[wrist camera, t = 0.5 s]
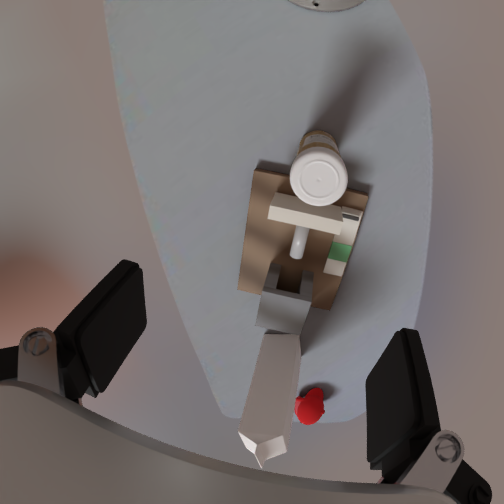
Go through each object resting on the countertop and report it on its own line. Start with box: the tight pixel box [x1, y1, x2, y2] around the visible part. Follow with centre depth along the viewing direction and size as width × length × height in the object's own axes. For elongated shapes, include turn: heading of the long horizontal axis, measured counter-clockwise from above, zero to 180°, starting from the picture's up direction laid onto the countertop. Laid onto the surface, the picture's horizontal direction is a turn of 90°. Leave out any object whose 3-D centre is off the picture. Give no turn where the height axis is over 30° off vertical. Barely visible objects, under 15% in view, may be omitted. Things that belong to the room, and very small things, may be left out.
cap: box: [295, 388, 325, 425], centre depth 55 cm, size 8×6×6 cm
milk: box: [238, 334, 301, 468], centre depth 41 cm, size 6×6×22 cm
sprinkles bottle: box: [290, 131, 348, 206], centre depth 28 cm, size 5×5×14 cm
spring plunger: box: [268, 192, 359, 259], centre depth 35 cm, size 7×10×4 cm, turn 82°
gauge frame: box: [238, 168, 369, 336], centre depth 37 cm, size 18×14×8 cm
